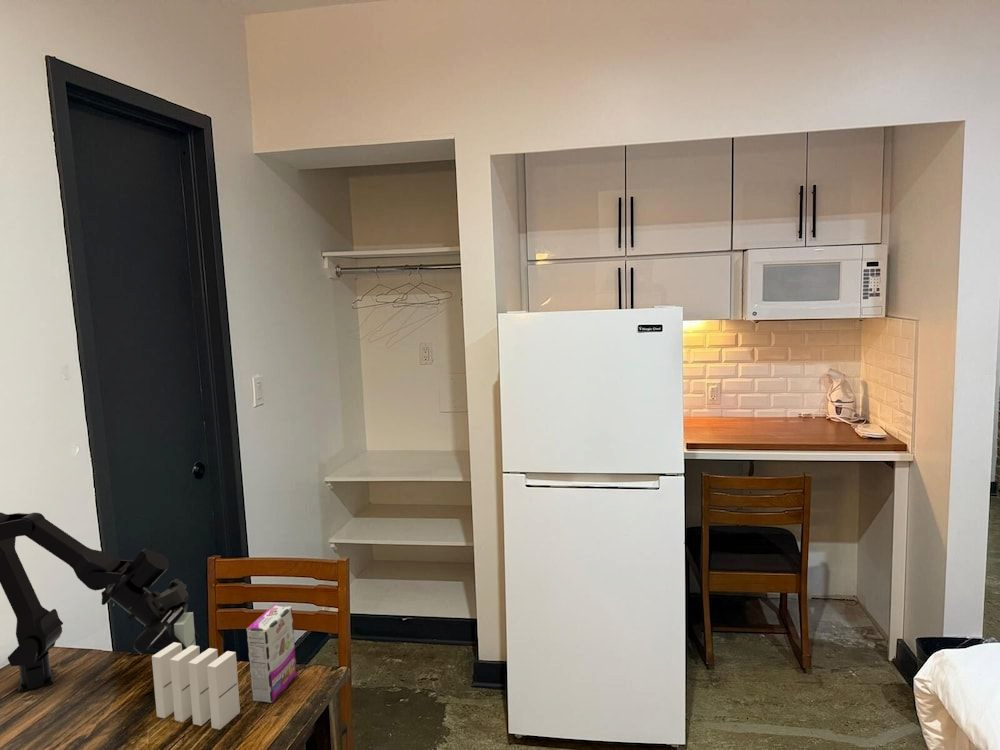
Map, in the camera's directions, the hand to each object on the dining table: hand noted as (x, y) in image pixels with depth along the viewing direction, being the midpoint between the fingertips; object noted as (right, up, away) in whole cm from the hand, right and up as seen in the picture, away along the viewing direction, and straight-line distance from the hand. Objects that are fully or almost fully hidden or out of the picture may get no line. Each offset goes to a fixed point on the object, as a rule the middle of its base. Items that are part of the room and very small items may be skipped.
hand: (192, 644), depth 159 cm
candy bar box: (+21, -7, -6) cm, 23 cm away
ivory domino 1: (+2, -8, -13) cm, 16 cm away
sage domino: (-1, -7, +1) cm, 7 cm away
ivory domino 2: (+6, -8, -14) cm, 18 cm away
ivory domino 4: (+14, -8, -17) cm, 24 cm away
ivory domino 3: (+10, -8, -16) cm, 21 cm away
